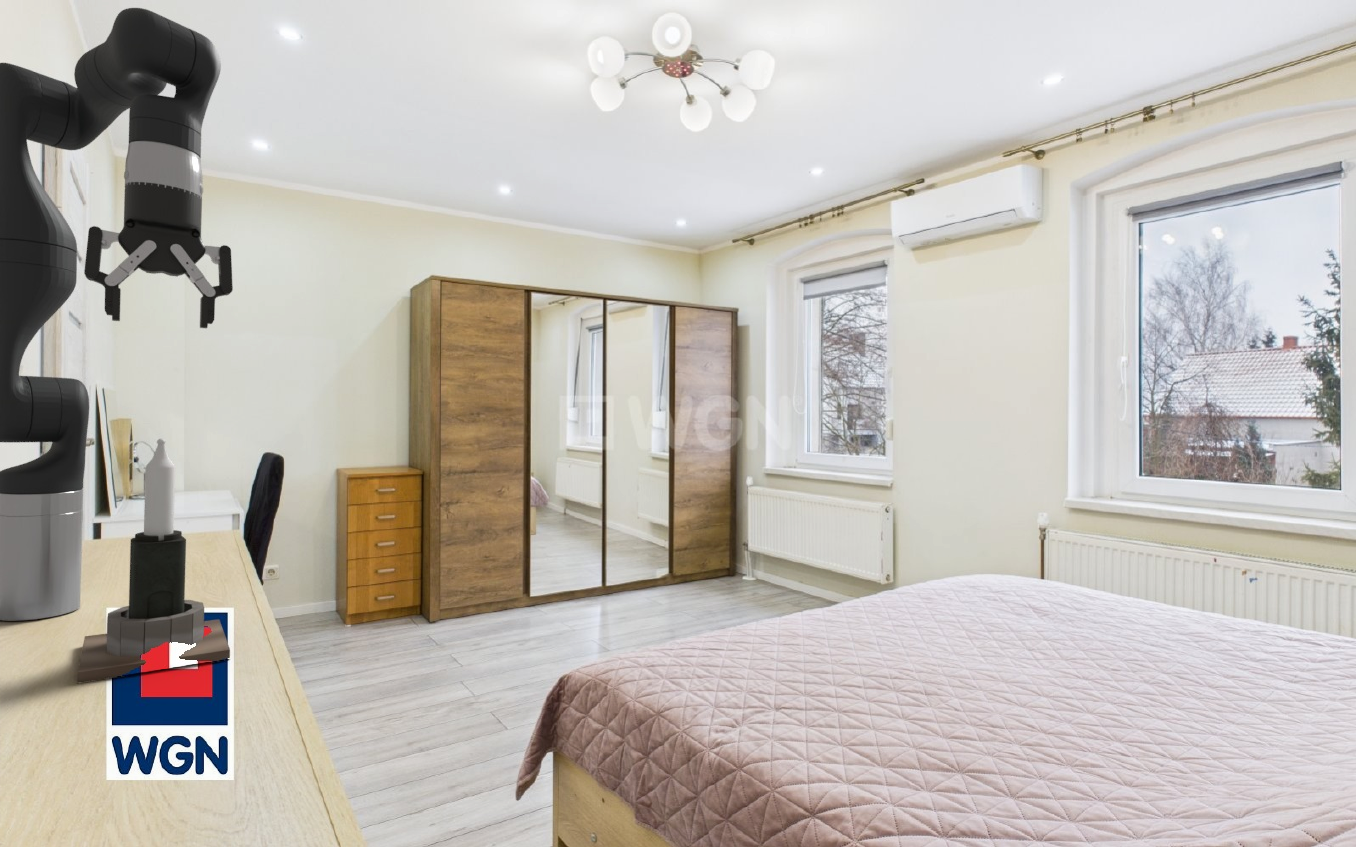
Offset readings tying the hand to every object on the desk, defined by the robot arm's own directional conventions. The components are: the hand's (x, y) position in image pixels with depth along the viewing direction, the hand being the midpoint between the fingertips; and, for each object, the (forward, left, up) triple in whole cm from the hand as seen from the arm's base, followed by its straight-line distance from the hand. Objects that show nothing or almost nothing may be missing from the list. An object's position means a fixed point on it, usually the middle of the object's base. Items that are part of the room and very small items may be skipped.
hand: (160, 324), depth 85 cm
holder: (0, 0, -40) cm, 40 cm away
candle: (0, 0, -39) cm, 39 cm away
